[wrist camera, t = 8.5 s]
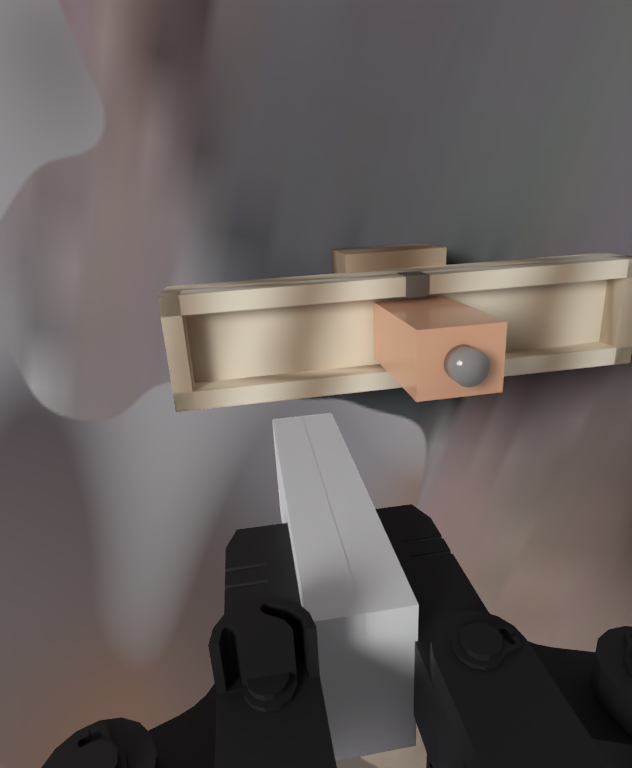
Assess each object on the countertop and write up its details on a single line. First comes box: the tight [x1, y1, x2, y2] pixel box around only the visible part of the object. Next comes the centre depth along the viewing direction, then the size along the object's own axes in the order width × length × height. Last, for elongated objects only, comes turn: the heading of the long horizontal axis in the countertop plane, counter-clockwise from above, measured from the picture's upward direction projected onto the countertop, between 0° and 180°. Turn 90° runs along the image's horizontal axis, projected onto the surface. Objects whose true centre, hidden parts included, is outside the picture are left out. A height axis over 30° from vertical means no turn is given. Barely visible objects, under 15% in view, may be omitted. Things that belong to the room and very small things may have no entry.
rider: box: [373, 296, 507, 402], centre depth 25 cm, size 4×3×8 cm
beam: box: [158, 243, 632, 412], centre depth 31 cm, size 26×8×8 cm, turn 93°
